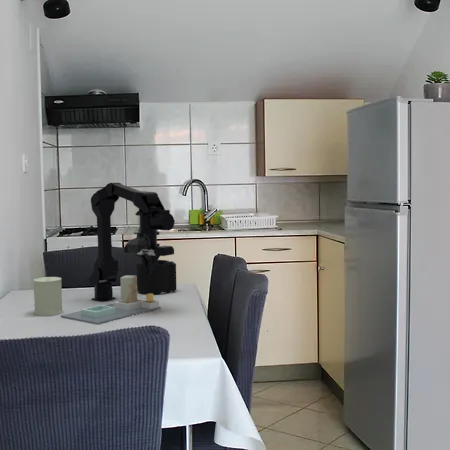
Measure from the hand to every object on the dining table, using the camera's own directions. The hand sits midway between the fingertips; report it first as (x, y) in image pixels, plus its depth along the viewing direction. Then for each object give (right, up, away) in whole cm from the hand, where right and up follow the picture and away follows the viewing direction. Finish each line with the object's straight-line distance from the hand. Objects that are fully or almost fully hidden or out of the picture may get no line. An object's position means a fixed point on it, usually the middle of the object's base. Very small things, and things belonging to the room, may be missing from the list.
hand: (149, 274), depth 209 cm
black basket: (-1, -10, +33) cm, 34 cm away
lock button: (0, -10, +1) cm, 10 cm away
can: (-34, -13, -3) cm, 36 cm away
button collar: (0, -12, +1) cm, 12 cm away
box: (-7, -12, +2) cm, 14 cm away
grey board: (-12, -13, -4) cm, 18 cm away
